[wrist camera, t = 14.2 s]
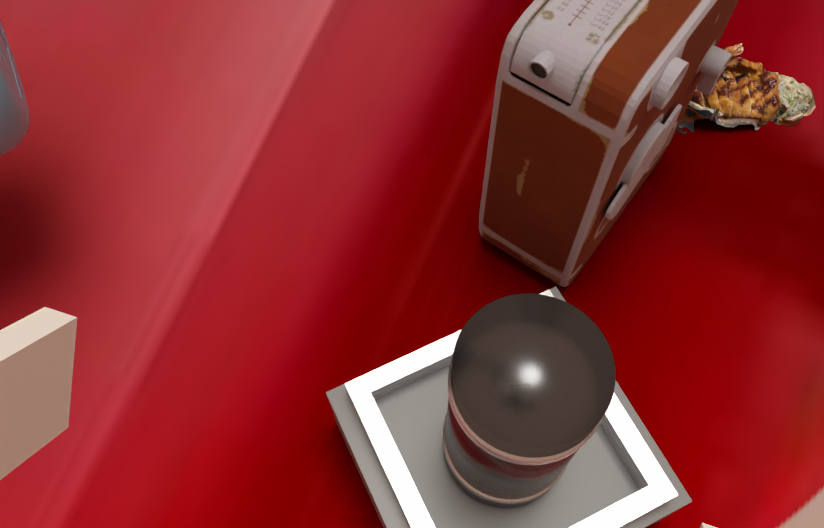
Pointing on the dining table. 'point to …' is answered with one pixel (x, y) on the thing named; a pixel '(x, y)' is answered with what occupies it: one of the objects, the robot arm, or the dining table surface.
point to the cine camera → (588, 118)
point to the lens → (523, 397)
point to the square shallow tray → (449, 505)
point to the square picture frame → (438, 356)
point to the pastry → (749, 97)
